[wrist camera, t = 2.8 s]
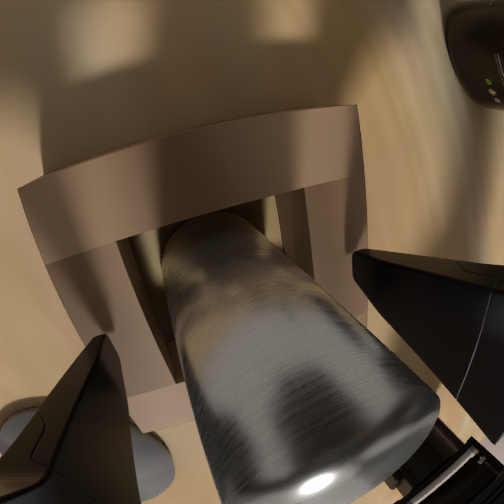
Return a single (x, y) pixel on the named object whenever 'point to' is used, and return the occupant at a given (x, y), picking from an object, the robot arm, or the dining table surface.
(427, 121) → the dining table surface
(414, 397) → the peg
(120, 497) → the robot arm
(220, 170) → the socket block
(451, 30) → the supplement bottle
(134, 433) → the coaster
